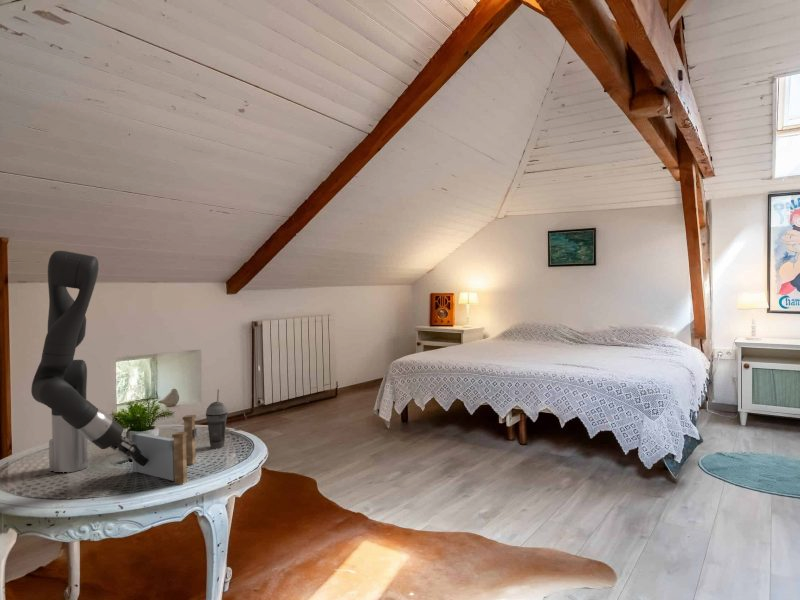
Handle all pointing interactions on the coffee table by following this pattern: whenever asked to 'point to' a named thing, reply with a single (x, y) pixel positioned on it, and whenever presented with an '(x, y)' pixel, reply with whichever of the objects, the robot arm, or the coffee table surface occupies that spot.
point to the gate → (155, 455)
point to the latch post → (190, 438)
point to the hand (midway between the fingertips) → (145, 462)
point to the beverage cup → (216, 423)
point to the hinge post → (180, 457)
